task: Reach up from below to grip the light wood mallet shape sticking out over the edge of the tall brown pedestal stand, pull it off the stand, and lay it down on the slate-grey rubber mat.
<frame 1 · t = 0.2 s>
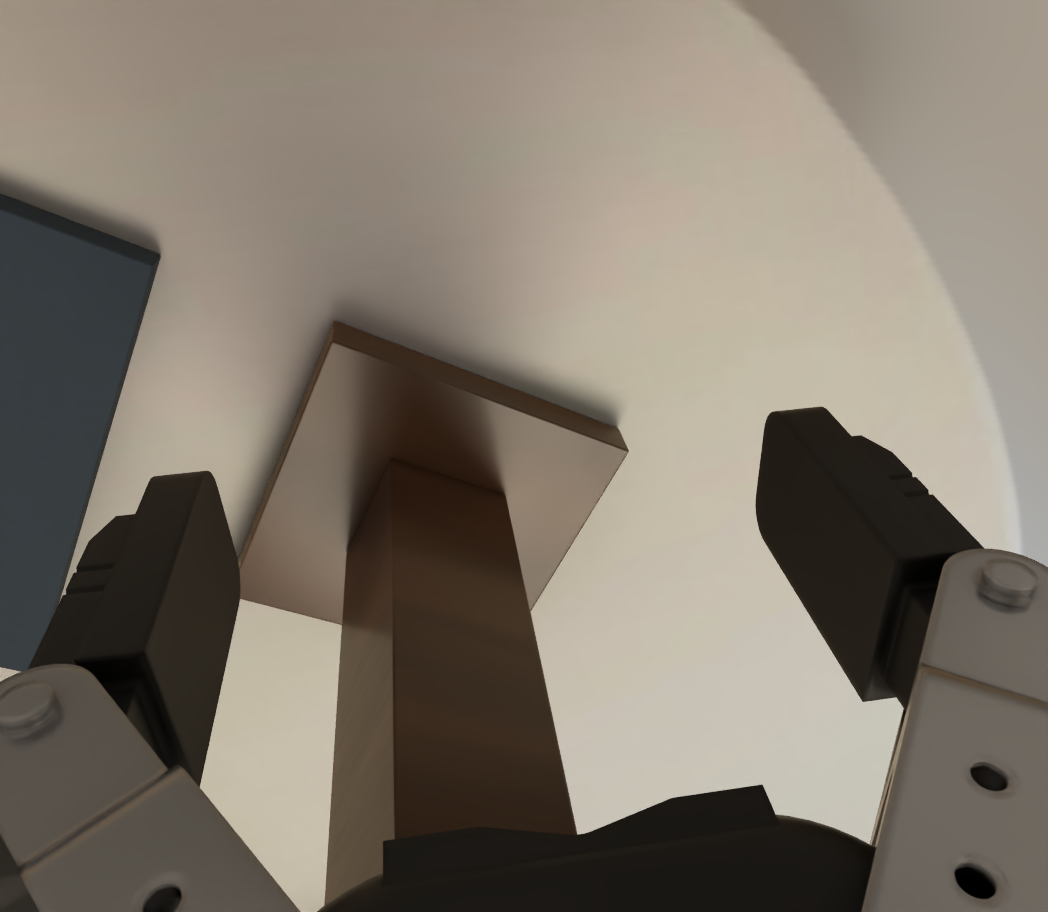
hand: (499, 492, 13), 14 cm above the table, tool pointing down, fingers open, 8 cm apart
brown pedestal stand: (424, 499, 30), on the table
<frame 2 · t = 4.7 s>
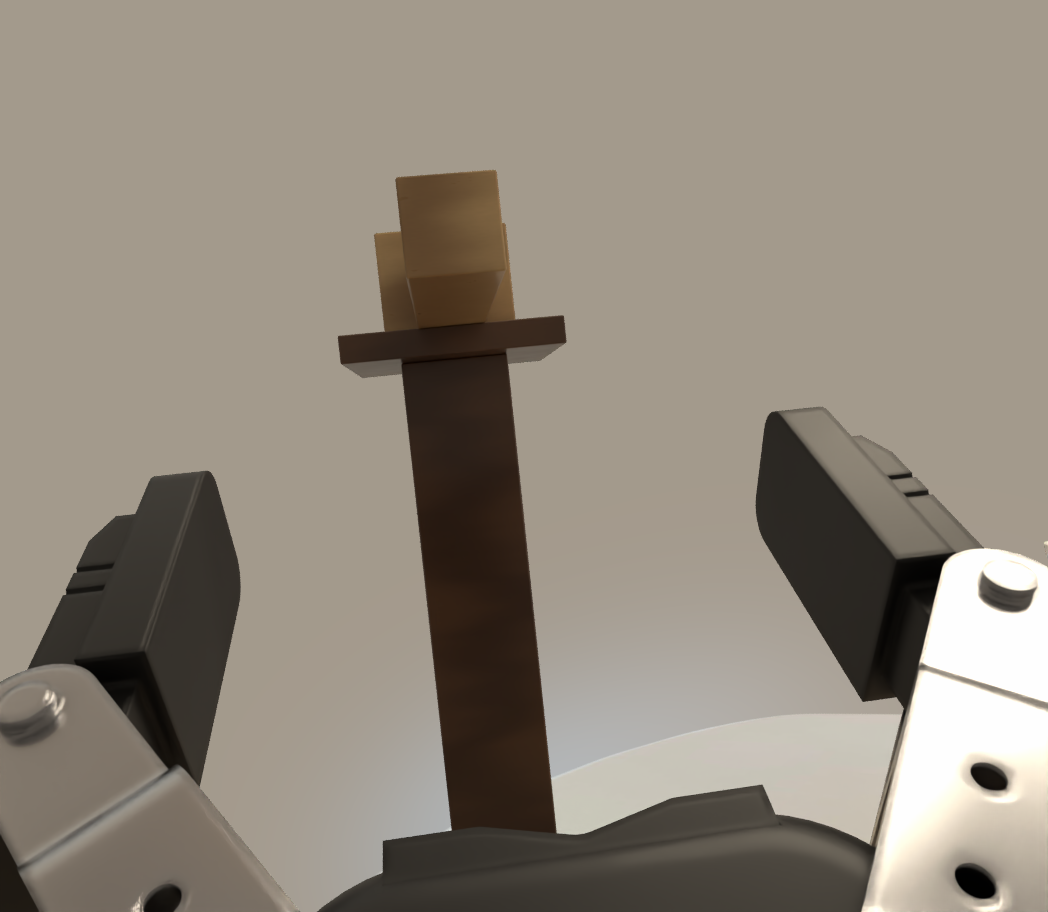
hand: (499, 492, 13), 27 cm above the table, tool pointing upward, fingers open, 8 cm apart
light wood mallet shape: (452, 321, 29), point 32 cm above the table, touching brown pedestal stand
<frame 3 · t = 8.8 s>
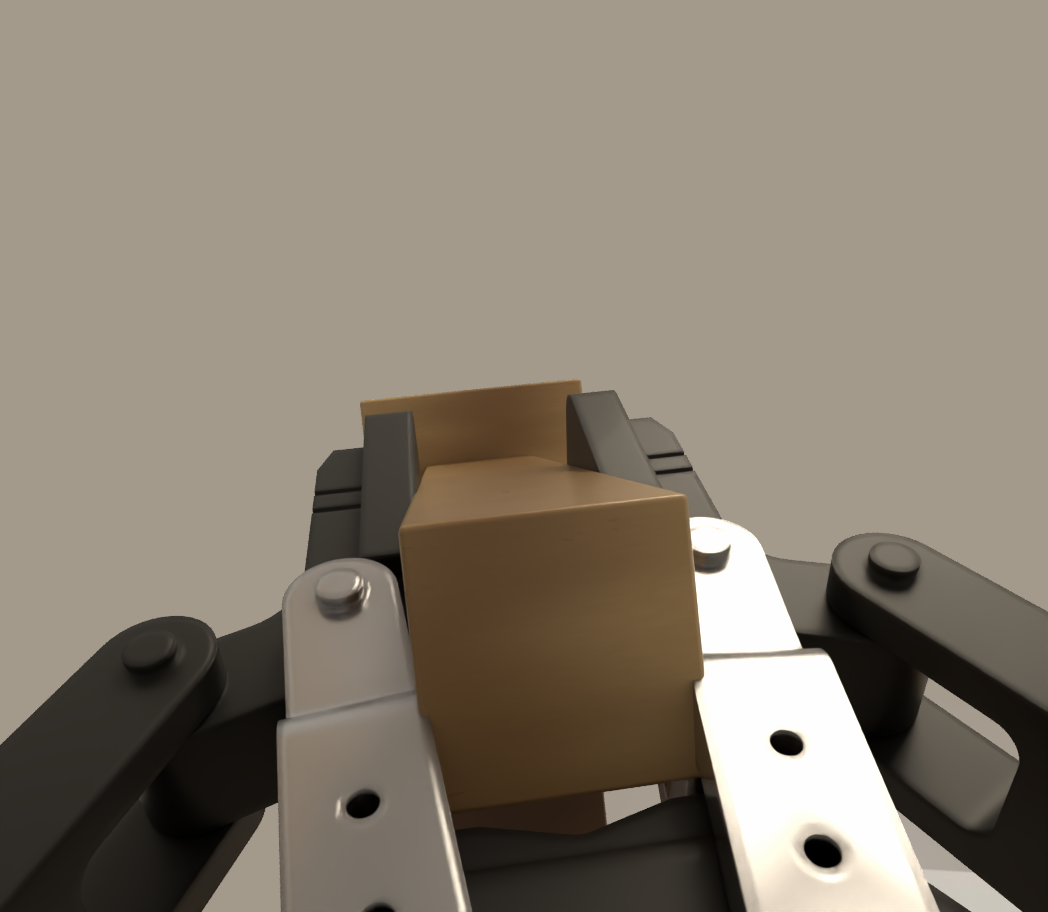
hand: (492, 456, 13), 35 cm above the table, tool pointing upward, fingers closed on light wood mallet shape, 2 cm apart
light wood mallet shape: (501, 594, 16), point 32 cm above the table, touching gripper, brown pedestal stand
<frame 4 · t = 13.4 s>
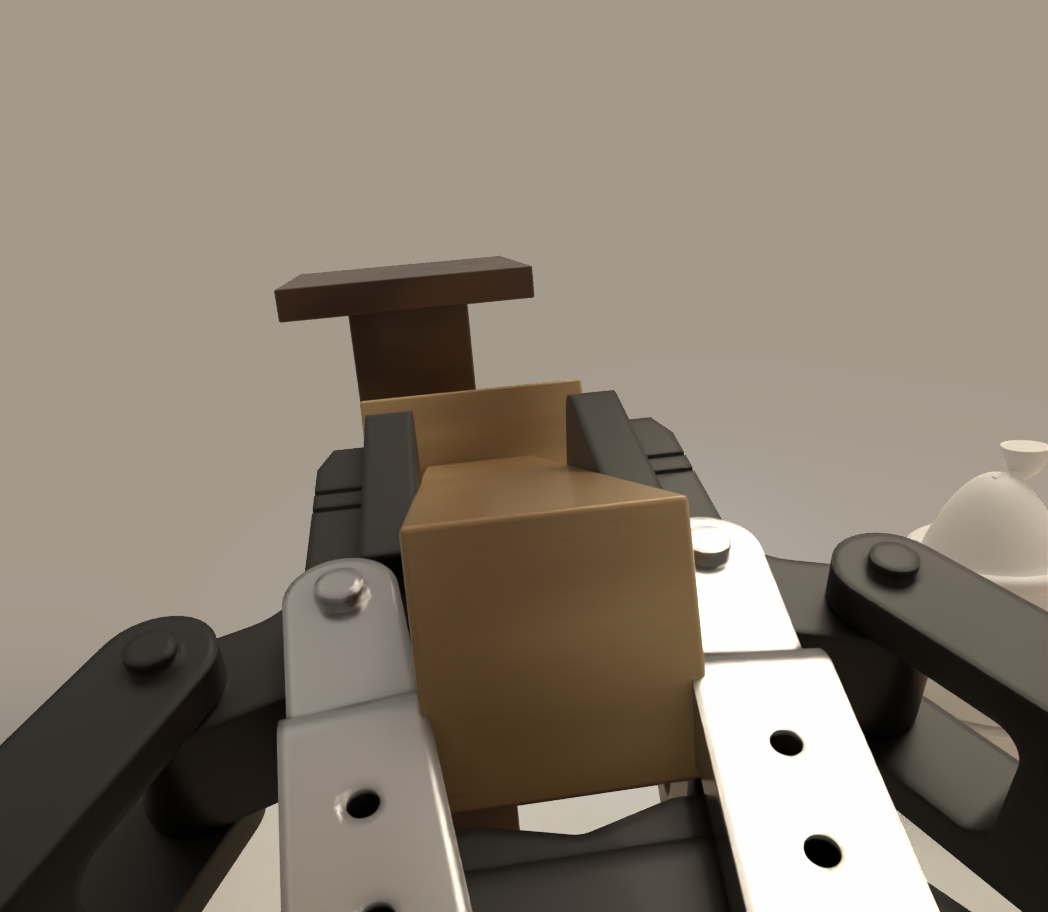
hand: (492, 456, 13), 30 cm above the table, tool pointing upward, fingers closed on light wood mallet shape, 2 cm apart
honey pot: (980, 725, 55), on the table
light wood mallet shape: (501, 594, 16), point 27 cm above the table, tilted 14°, touching gripper
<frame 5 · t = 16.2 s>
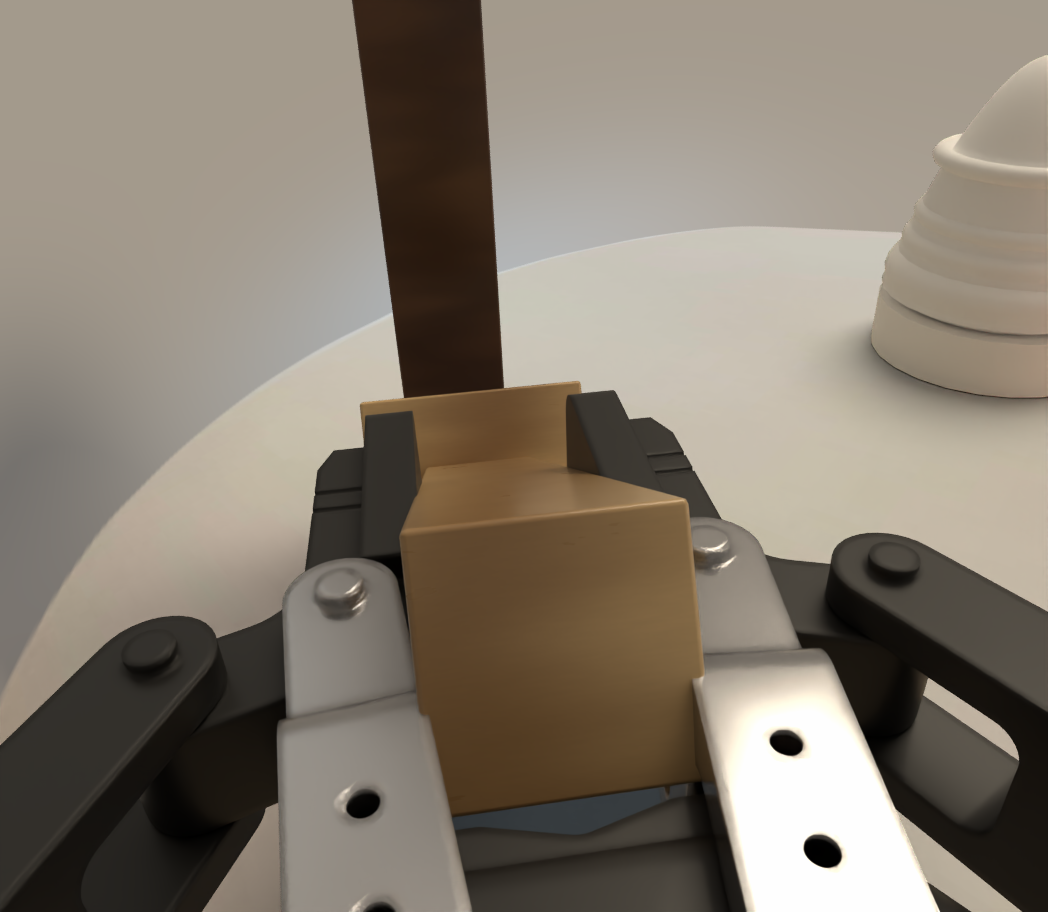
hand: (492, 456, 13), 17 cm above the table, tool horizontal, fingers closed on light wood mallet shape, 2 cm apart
mat: (615, 873, 25), on the table
honey pot: (979, 351, 54), on the table
brown pedestal stand: (465, 524, 40), on the table
light wood mallet shape: (500, 596, 16), point 13 cm above the table, tilted 30°, touching gripper
when the fingers open (9 cm above the table, at t = 18.4 s): light wood mallet shape drops 5 cm, resting on mat.
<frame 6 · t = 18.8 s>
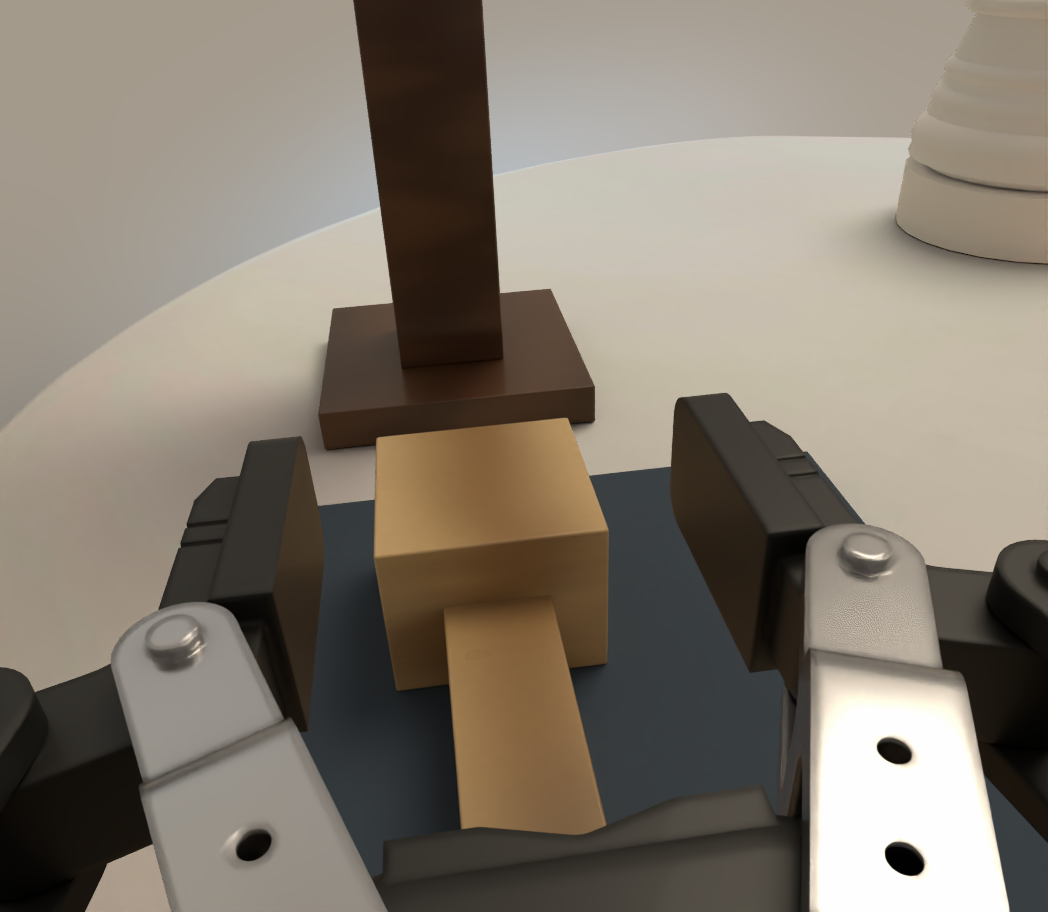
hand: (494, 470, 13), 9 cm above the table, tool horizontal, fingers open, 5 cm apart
mat: (623, 688, 21), on the table
honey pot: (1015, 228, 49), on the table
brown pedestal stand: (453, 375, 36), on the table
light wood mallet shape: (523, 807, 17), point 1 cm above the table, touching mat
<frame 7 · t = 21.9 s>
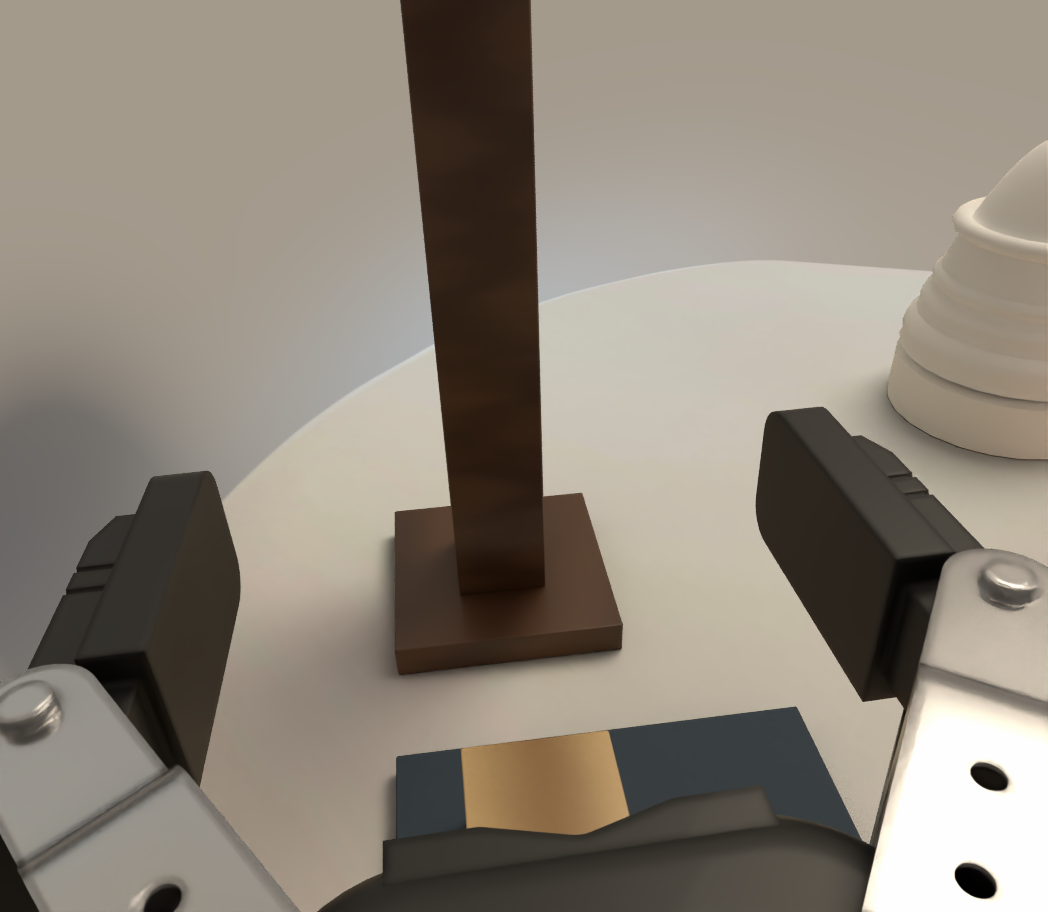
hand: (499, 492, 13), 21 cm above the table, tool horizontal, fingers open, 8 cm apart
honey pot: (993, 406, 55), on the table
brown pedestal stand: (500, 586, 42), on the table
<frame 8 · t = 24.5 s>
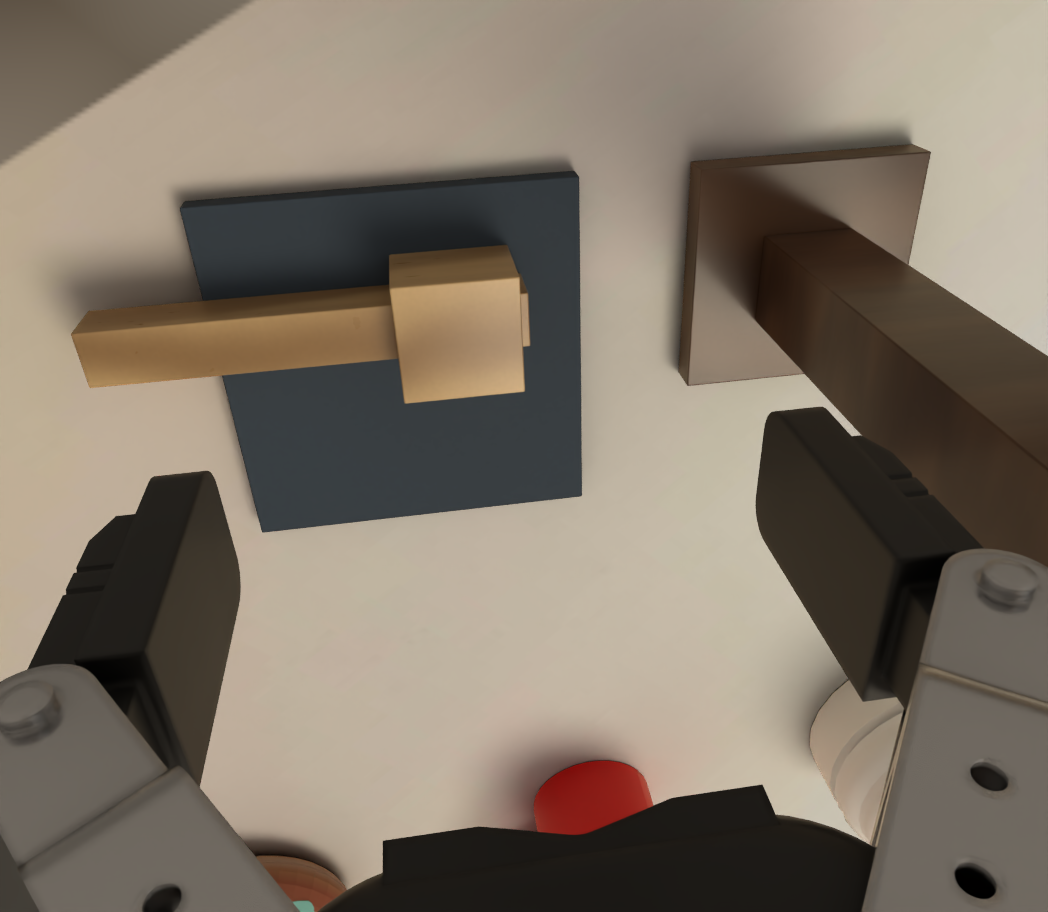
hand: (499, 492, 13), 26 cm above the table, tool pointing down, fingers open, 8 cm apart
mat: (405, 361, 40), on the table
donut: (267, 893, 59), on the table
honey pot: (899, 716, 59), on the table
brown pedestal stand: (789, 264, 40), on the table
light wood mallet shape: (314, 317, 37), point 1 cm above the table, touching mat
mug: (567, 812, 59), on the table
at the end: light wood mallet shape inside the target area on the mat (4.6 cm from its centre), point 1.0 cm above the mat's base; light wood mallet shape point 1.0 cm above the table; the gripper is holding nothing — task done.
